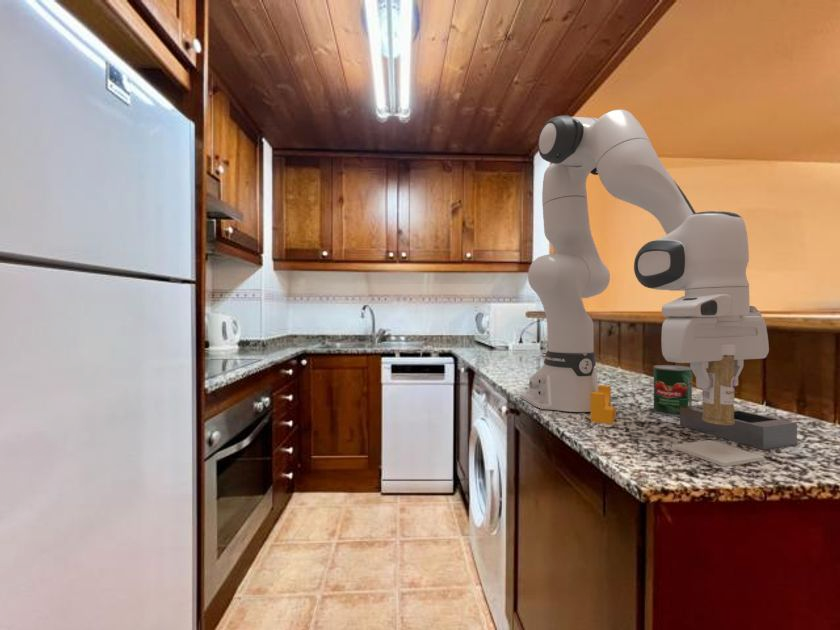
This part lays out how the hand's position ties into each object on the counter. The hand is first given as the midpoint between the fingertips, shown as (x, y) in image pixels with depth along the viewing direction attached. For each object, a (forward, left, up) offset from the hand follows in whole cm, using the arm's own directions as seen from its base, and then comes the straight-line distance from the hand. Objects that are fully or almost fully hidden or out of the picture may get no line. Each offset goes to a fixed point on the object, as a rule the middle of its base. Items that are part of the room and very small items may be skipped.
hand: (717, 387), depth 68 cm
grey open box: (-7, +14, -11) cm, 19 cm away
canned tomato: (-24, +18, -12) cm, 32 cm away
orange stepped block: (-26, 0, -12) cm, 29 cm away
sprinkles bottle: (0, 0, -6) cm, 6 cm away
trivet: (0, 0, -11) cm, 11 cm away
